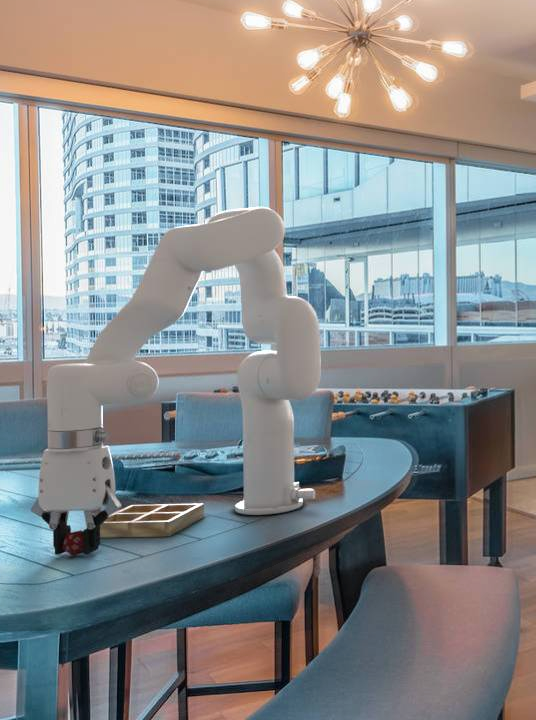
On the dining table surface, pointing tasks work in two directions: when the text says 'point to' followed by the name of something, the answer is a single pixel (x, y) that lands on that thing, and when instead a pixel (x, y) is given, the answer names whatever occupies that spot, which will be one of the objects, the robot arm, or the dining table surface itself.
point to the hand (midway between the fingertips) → (77, 550)
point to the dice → (73, 543)
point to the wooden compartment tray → (151, 520)
